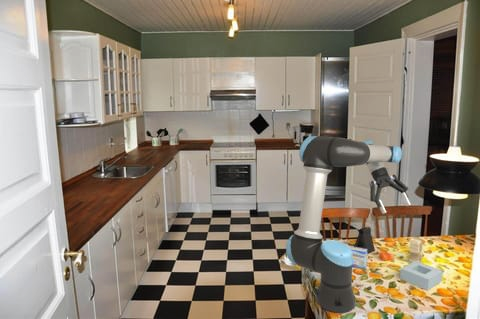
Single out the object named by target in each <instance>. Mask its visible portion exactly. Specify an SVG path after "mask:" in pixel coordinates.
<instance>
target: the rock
mask: <svg viewBox="0 0 480 319" xmlns="http://www.w3.org/2000/svg"><path fill="white" fill-rule="evenodd" d="M378 252H379V254H378V258H379V260H381V261H382V262H387V261H392V260H393V259H394V257H395V256H394V254H393V253H389V252H386V251H385V250H380V251H378Z"/></svg>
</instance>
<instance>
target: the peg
mask: <svg viewBox="0 0 480 319" xmlns="http://www.w3.org/2000/svg"><path fill="white" fill-rule="evenodd" d="M423 244H424V239H423V238H419V237H416V236H413V237H412V238H410V239H409V252H408V254H409V255H408V256H409V257H408V264H410V263H412V262H414V261H417V262H420V263H422V258H423V247H424V246H423Z"/></svg>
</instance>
